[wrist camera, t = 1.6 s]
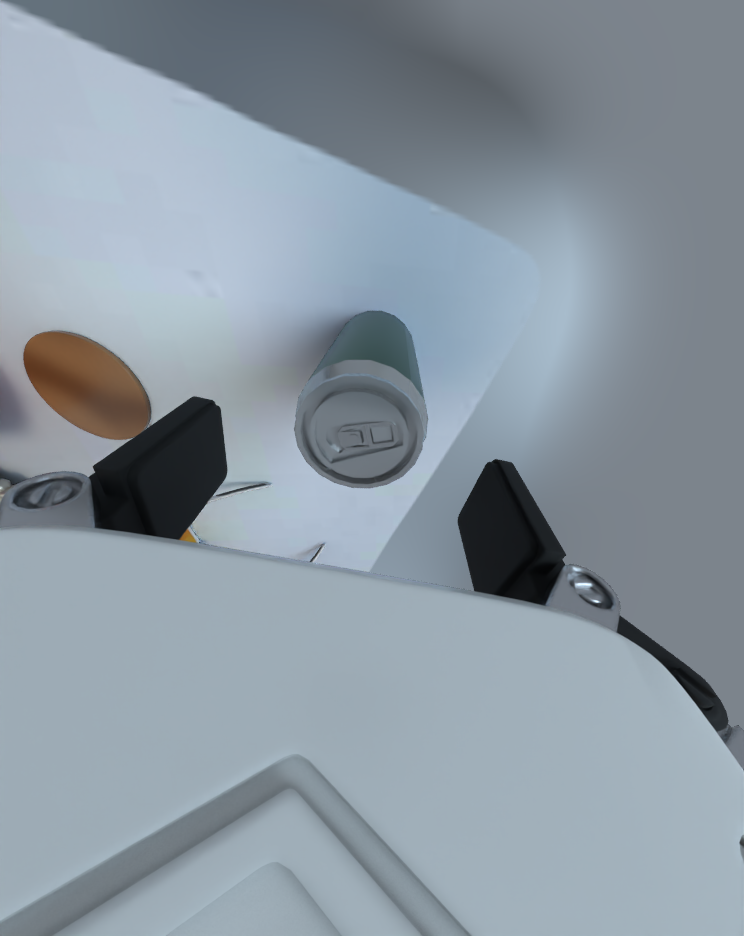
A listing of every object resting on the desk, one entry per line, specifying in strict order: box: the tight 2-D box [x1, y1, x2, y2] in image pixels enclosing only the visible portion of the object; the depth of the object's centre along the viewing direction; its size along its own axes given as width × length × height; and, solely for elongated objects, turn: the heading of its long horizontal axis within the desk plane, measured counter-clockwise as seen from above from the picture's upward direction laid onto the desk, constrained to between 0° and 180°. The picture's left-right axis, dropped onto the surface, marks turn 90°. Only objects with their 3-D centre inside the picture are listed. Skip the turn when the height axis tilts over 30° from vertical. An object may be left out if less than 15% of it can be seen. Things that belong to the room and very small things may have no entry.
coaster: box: [24, 331, 151, 440], centre depth 24 cm, size 9×9×1 cm
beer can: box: [294, 311, 428, 488], centre depth 16 cm, size 5×5×12 cm
